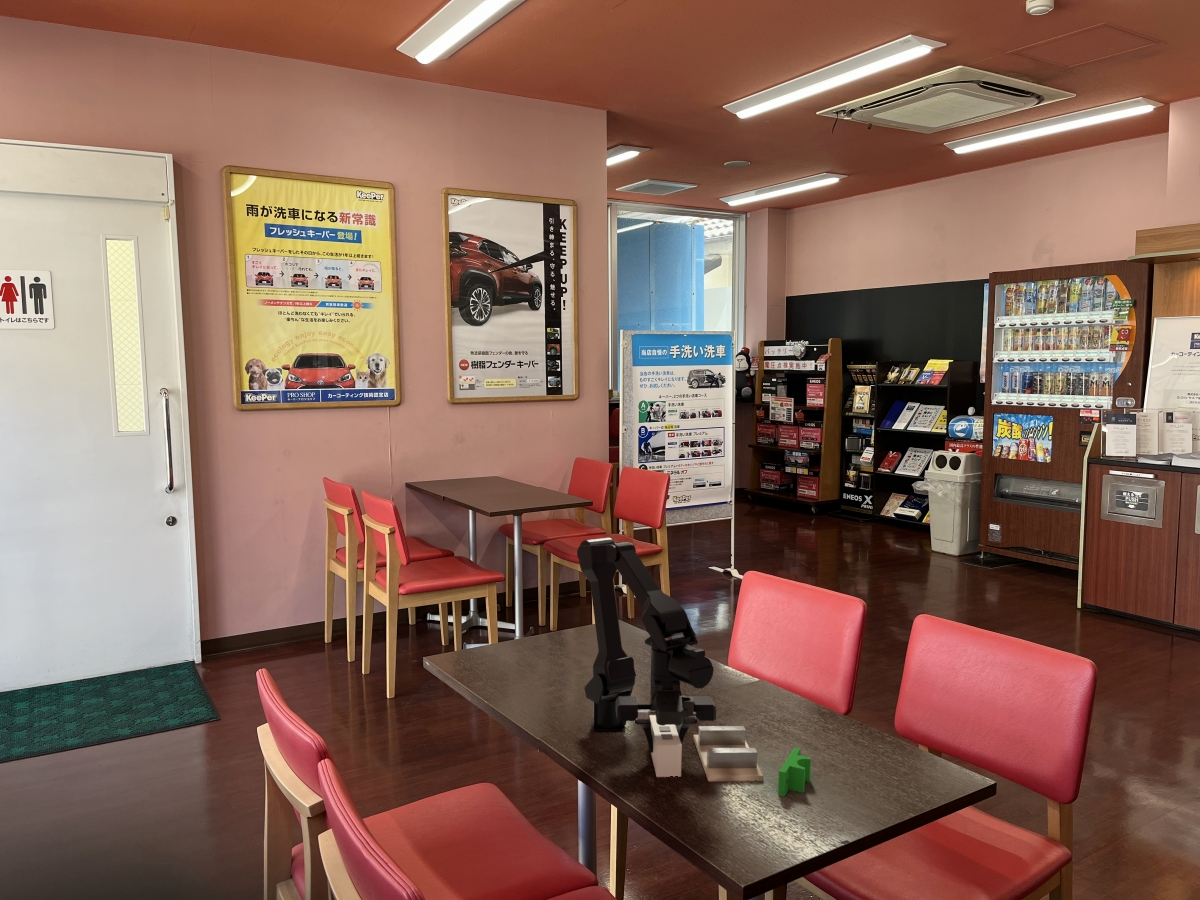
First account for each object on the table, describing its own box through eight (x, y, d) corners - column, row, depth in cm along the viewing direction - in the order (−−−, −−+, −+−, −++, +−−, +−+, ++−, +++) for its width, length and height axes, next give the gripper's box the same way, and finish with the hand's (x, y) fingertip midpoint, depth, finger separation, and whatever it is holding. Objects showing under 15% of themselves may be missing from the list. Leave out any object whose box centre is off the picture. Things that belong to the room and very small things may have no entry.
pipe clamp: (799, 801, 146) (800, 776, 145) (778, 796, 147) (778, 771, 147) (814, 774, 156) (814, 750, 155) (793, 770, 157) (794, 746, 157)
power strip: (656, 777, 154) (657, 744, 153) (648, 744, 168) (649, 714, 167) (681, 776, 154) (681, 744, 153) (671, 744, 168) (671, 714, 167)
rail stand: (708, 781, 152) (708, 760, 152) (693, 739, 170) (693, 720, 170) (763, 781, 153) (763, 759, 152) (742, 739, 170) (742, 720, 170)
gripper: (619, 687, 151) (618, 771, 152) (722, 687, 152) (720, 770, 153) (615, 666, 162) (614, 745, 163) (711, 666, 163) (710, 744, 164)
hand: (664, 751), depth 161 cm, fingers closed on power strip, 4 cm apart
